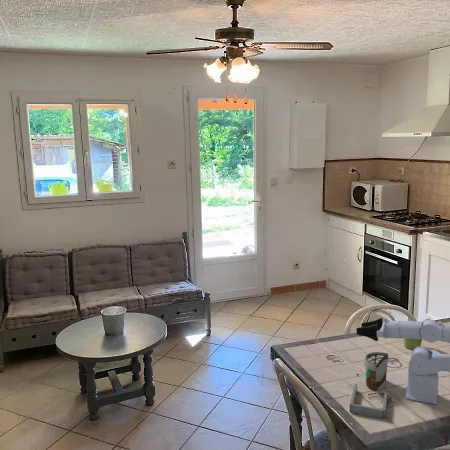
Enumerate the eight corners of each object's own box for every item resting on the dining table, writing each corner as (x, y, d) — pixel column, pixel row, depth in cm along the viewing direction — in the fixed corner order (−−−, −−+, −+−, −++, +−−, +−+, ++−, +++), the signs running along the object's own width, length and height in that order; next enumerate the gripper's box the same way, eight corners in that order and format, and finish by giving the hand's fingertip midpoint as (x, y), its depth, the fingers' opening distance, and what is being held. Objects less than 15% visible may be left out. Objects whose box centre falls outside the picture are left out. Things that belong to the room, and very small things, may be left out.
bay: (387, 396, 155) (387, 389, 154) (384, 418, 142) (385, 411, 142) (354, 390, 159) (354, 383, 158) (349, 411, 146) (349, 404, 146)
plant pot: (426, 345, 193) (427, 325, 191) (422, 354, 185) (423, 333, 183) (403, 340, 198) (404, 321, 196) (398, 348, 190) (399, 328, 188)
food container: (370, 373, 170) (371, 348, 168) (387, 379, 166) (388, 352, 164) (356, 387, 160) (357, 360, 159) (374, 393, 157) (375, 366, 155)
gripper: (402, 313, 161) (363, 313, 167) (395, 322, 148) (353, 321, 155) (404, 333, 160) (364, 332, 167) (398, 344, 148) (355, 342, 154)
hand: (359, 328), depth 161 cm, fingers open, 7 cm apart
